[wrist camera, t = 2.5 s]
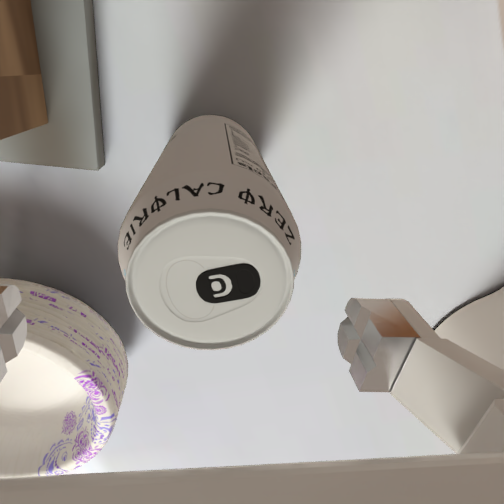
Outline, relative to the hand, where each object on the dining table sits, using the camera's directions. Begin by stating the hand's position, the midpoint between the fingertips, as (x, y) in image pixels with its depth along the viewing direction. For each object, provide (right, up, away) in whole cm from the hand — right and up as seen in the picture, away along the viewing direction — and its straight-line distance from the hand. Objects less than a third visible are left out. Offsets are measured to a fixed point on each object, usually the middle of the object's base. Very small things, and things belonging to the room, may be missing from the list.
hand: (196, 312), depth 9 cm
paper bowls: (-16, -5, +20) cm, 26 cm away
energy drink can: (-1, +8, +14) cm, 16 cm away
